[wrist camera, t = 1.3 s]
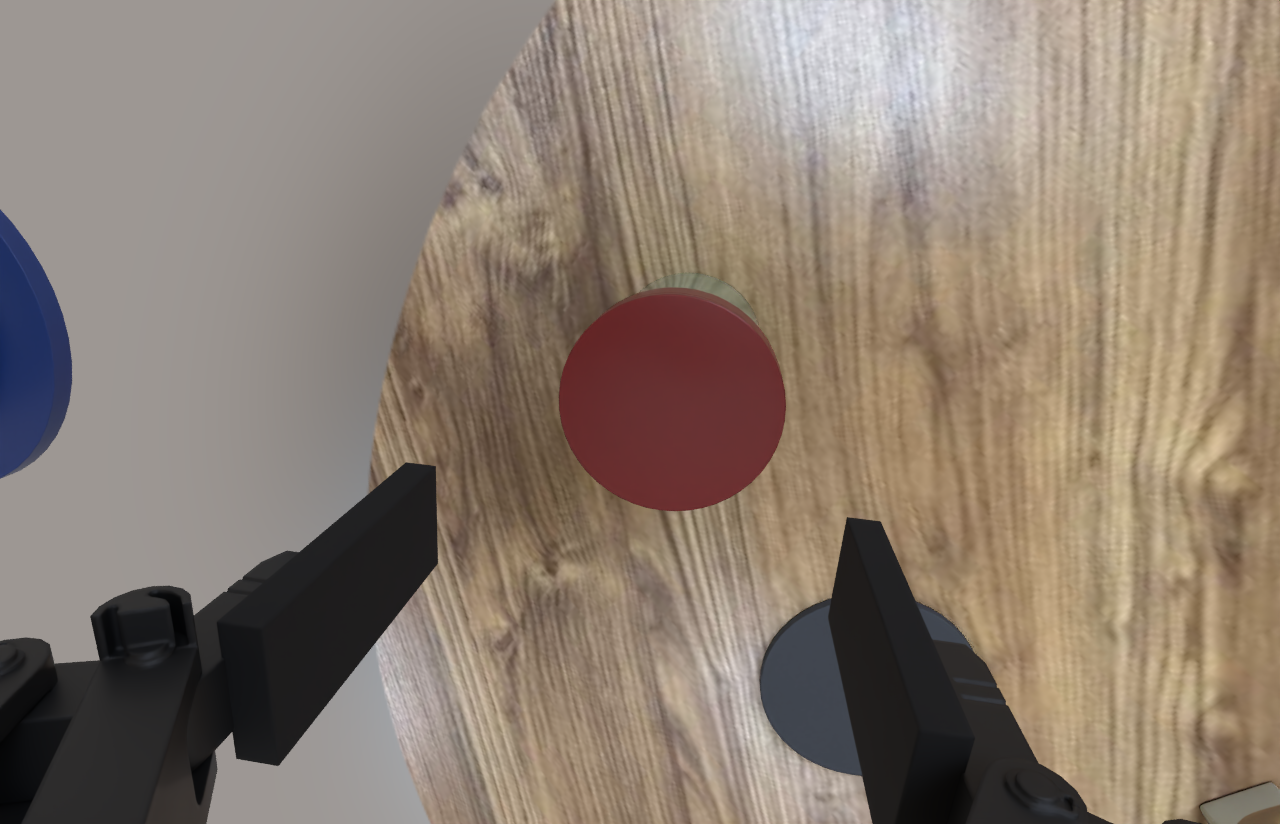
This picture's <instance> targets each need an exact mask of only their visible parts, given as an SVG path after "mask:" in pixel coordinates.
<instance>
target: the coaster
mask: <svg viewBox="0 0 1280 824" xmlns="http://www.w3.org/2000/svg"><path fill="white" fill-rule="evenodd" d="M830 604H831V599H829V600H826V601H824V602H821V603H818V604H816V605H814V606H812V607H810V608H808V609H806V610H804V611H803V612H801V613H800V614H798V615H797V616H795V617H794V618H793V619H791V620H790V621H789V622H788V623H787V624H786V625H785V626H784V627H783V628H782V629H781V630H780V631H779V633H778V634H777V635H776V636H775V637H774V639H773V641H772V642H771V644H770V646H769V647H768V649H767V652H766V654H765V656H764V659H763V663H762V667H761V674H760V690H761V699H762V703H763V707H764V710H765V713H766V715H767V718H768V720H769V722H770V723H771V725H772V727H773V728H774V730H775V731H776V732H777V734H778V735H779V736H780V737H781V739H782V740H783V741H784V742H785V743H786V744H787V745H788V746H789V747H791V748H792V749H793V750H794V751H796V752H797V753H798V754H800V755H801V756H803V757H804V758H806V759H808V760H810V761H811V762H813V763H816V764H818V765H820V766H822V767H825V768H828V769H831V770H834V771H837V772H841V773H846V774H851V775H860V776H862V772H861V768H860V763H859V759H858V754H857V749H856V745H855V740H854V736H853V731H852V726H851V722H850V717H849V713H848V708H847V703H846V699H845V694H844V690H843V685H842V680H841V676H840V671H839V667H838V662H837V657H836V653H835V648H834V644H833V639H832V634H831V630H830V625H829V621H828V614H829V609H830ZM916 604H917V606H918V608H919V610H920V613H921V615H922V617H923V620H924V622H925V624H926V626H927V629H928V631H929V633H930V636H931V638H932V639H933V640H940V641H947V642H954V643H962V644H966V645H967V646H968V647H969V648H970V649H971V650H972V648H971V646H970V644H969V643H968V641H967V640H966V639H965V637H964V636H963V634H962V633H961V632H960V631H959V630H958V629H957V628H956V627H955V626H954V625H953V624H952V623H951V622H950V621H949V620H947V619H946V618H945V617H944V616H942V615H941V614H939V613H937V612H936V611H934V610H932V609H931V608H929V607H927V606H924V605H922V604H920V603H918V602H916ZM972 651H973V650H972Z"/></svg>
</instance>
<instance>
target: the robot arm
mask: <svg viewBox="0 0 1280 824" xmlns="http://www.w3.org/2000/svg"><path fill="white" fill-rule="evenodd" d="M437 564H438V547H437V504H436V466H430V465H422V464H414V463H405V464H404V465H403V466H401V467H400V468H399V469H398V470H397V471H395V472H394V473H393V474H392V475H391V476H389V477H388V478H387V479H386V480H385V481H384V482H382V483H381V484H380V485H379V486H378V487H376V488H375V489H374V490H373V491H372V492H370V493H369V494H368V495H367V496H366V497H365V498H363V499H362V500H361V501H360V502H359V503H357V504H356V505H355V506H354V507H353V508H351V509H350V510H349V511H348V512H347V513H346V514H344V515H343V516H342V517H341V518H339V519H338V520H337V521H336V522H335V523H334V524H332V525H331V526H330V527H329V528H328V529H326V530H325V531H324V532H323V533H322V534H320V535H319V536H318V537H317V538H316V539H315V540H313V541H312V542H311V543H310V544H309V545H307V546H306V547H305V548H304V549H303V550H301V551H300V552H292V551H285V552H283V553H281V554H278V555H276V556H274V557H272V558H270V559H267V560H265V561H263V562H261V563H260V564H259V565H257V566H256V567H255V568H253V569H252V570H251V571H250V572H248V573H247V574H246V575H245V576H244V577H243V579H242V580H238V581H237V582H236V583H234V584H233V585H232V586H231V587H229V588H228V591H227V592H223V593H222V594H221V595H219V596H218V597H217V598H216V599H214V600H213V601H212V602H211V603H209V604H208V605H207V606H206V607H205V608H203V609H202V610H200V611H199V612H198V613H197V614H195V615H193V608H192V602H191V596H190V594H189V593H188V592H187V591H185V590H184V589H182V588H177V587H173V586H152V587H147V588H142V589H137V590H133V591H130V592H128V593H125V594H122V595H120V596H117V597H115V598H113V599H111V600H109V601H108V602H106V603H104V604H103V605H101V606H99V607H98V609H97V610H96V611H95V612H94V613H93V614H92V615H91V622H92V626H93V631H94V636H95V640H96V644H97V650H98V654H99V658H100V661H86V662H72V663H58V664H54V660H53V656H52V652H51V648H50V644H48V643H46V642H45V641H43V640H41V639H34V638H19V639H10V640H3V641H0V824H206V822H207V817H208V813H209V808H210V803H211V797H212V793H213V788H214V783H215V779H216V774H217V762H216V755H215V750H216V748H217V747H218V746H219V745H220V744H221V743H222V742H223V741H224V740H225V739H226V738H227V737H228V736H229V734H230V733H231V732H233V738H234V746H235V753H236V758H237V759H241V760H247V761H253V762H258V763H265V764H270V765H276V766H278V765H280V763H281V762H282V761H283V760H284V758H285V757H286V756H287V754H288V753H289V752H290V751H291V749H292V748H293V747H294V746H295V744H296V743H297V742H298V740H299V739H300V738H301V737H302V735H303V734H304V733H305V732H306V730H307V729H308V728H309V727H310V725H311V724H312V723H313V721H314V720H315V719H316V718H317V716H318V715H319V714H320V712H321V711H322V710H323V709H324V707H325V706H326V705H327V704H328V702H329V701H330V700H331V699H332V697H333V696H334V695H335V693H336V692H337V691H338V689H339V688H340V687H341V686H342V685H343V683H344V682H345V681H346V680H347V678H348V677H349V676H350V674H351V673H352V672H353V671H354V669H355V668H356V667H357V665H358V664H359V663H360V661H361V660H362V659H363V658H364V657H365V655H366V654H367V653H368V652H369V650H370V649H371V647H372V646H373V645H374V644H375V643H376V641H377V640H378V639H379V638H380V636H381V635H382V634H383V633H384V631H385V630H386V629H387V627H388V626H389V625H390V624H391V622H392V621H393V620H394V619H395V617H396V616H397V615H398V613H399V612H400V611H401V610H402V608H403V607H404V606H405V605H406V603H407V602H408V601H409V599H410V598H411V597H412V596H413V594H414V593H415V592H416V591H417V589H418V588H419V587H420V585H421V584H422V583H423V582H424V580H425V579H426V578H427V577H428V575H429V574H430V573H431V572H432V570H433V569H434V568H435V566H436V565H437ZM828 621H829V625H830V630H831V634H832V639H833V644H834V648H835V653H836V657H837V662H838V667H839V671H840V676H841V680H842V685H843V690H844V694H845V699H846V703H847V708H848V713H849V717H850V722H851V726H852V731H853V736H854V740H855V745H856V749H857V754H858V759H859V763H860V768H861V772H862V777H863V782H864V786H865V791H866V795H867V800H868V805H869V809H870V814H871V819H872V823H873V824H1113V823H1111V822H1108V821H1106V820H1104V819H1101V818H1099V817H1097V816H1095V815H1093V814H1091V813H1089V812H1087V807H1086V805H1085V803H1084V802H1083V800H1082V799H1081V797H1080V795H1079V794H1078V792H1077V791H1076V790H1075V789H1074V788H1073V787H1072V786H1071V785H1070V784H1069V783H1068V782H1066V781H1065V780H1064V779H1063V778H1062V777H1061V776H1059V775H1058V774H1056V773H1054V772H1053V771H1051V770H1049V769H1048V768H1046V767H1044V766H1043V765H1041V764H1039V763H1038V761H1037V760H1036V758H1035V756H1034V754H1033V752H1032V750H1031V748H1030V746H1029V744H1028V743H1027V741H1026V739H1025V737H1024V735H1023V733H1022V731H1021V729H1020V727H1019V725H1018V724H1017V722H1016V720H1015V718H1014V716H1013V714H1012V712H1011V710H1010V708H1009V707H1008V706H1007V705H1006V701H1005V699H1004V697H1003V695H1002V693H1001V691H1000V689H999V688H997V684H996V682H995V680H994V678H993V676H992V674H991V672H990V671H989V669H988V667H987V665H986V663H985V662H984V661H983V660H982V659H980V658H979V657H978V656H977V655H976V654H975V653H974V652H973V651H972V650H971V649H970V648H969V647H968V646H967V645H966V644H962V643H954V642H947V641H940V640H933V639H932V638H931V636H930V633H929V631H928V629H927V626H926V624H925V622H924V620H923V617H922V615H921V613H920V610H919V608H918V606H917V604H916V601H915V599H914V597H913V594H912V592H911V590H910V588H909V585H908V583H907V581H906V578H905V576H904V574H903V572H902V569H901V567H900V565H899V562H898V560H897V558H896V556H895V553H894V551H893V549H892V546H891V544H890V542H889V540H888V537H887V535H886V533H885V530H884V528H883V526H882V524H881V522H880V521H872V520H864V519H856V518H848V517H847V520H846V525H845V530H844V536H843V541H842V546H841V551H840V557H839V562H838V567H837V572H836V578H835V583H834V588H833V593H832V599H831V604H830V609H829V614H828ZM1162 824H1201V823H1197V822H1192V821H1188V820H1183V819H1176V820H1168V821H1164V822H1163V823H1162Z"/></svg>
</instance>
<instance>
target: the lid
mask: <svg viewBox="0 0 1280 824" xmlns="http://www.w3.org/2000/svg"><path fill="white" fill-rule="evenodd" d="M559 411H560V417H561V423H562V426H563V430H564V433H565V436H566V439H567V441H568V443H569V445H570V448H571V450H572V451H573V453H574V455H575V456H576V458H577V460H578V461H579V462H580V464H581V465H582V466H583V467H584V469H585V470H586V471H587V472H588V473H589V474H590V475H591V476H592V477H593V478H594V479H595V480H596V481H597V482H598V483H599V484H600V485H602V486H603V487H604V488H606V489H607V490H608V491H610V492H612V493H613V494H615V495H617V496H618V497H620V498H622V499H624V500H627V501H629V502H631V503H633V504H637V505H640V506H643V507H646V508H651V509H657V510H665V511H686V510H694V509H699V508H704V507H707V506H711V505H714V504H717V503H719V502H721V501H723V500H726V499H728V498H730V497H731V496H733V495H735V494H736V493H738V492H740V491H741V490H742V489H744V488H745V487H746V486H747V485H749V484H750V483H751V482H752V481H753V480H754V479H755V478H756V477H757V476H758V475H759V474H760V473H761V472H762V471H763V469H764V468H765V467H766V465H767V464H768V462H769V461H770V459H771V458H772V456H773V454H774V452H775V450H776V448H777V446H778V443H779V440H780V438H781V435H782V431H783V426H784V422H785V411H786V400H785V389H784V384H783V380H782V375H781V371H780V367H779V364H778V361H777V358H776V355H775V353H774V351H773V349H772V347H771V345H770V343H769V341H768V339H767V338H766V336H765V335H764V333H763V332H762V331H761V329H760V328H759V327H758V326H757V325H756V323H755V322H754V321H753V320H752V319H751V318H750V317H749V316H748V315H746V314H745V313H744V312H743V311H741V310H740V309H739V308H738V307H736V306H734V305H733V304H731V303H730V302H728V301H726V300H724V299H722V298H720V297H718V296H715V295H713V294H710V293H707V292H703V291H700V290H695V289H689V288H678V287H667V288H657V289H652V290H648V291H643V292H640V293H637V294H635V295H632V296H630V297H627V298H625V299H624V300H622V301H620V302H618V303H616V304H615V305H613V306H612V307H611V308H609V309H608V310H607V311H605V312H604V313H603V314H602V315H601V316H600V317H599V318H598V319H597V320H596V321H595V322H594V323H593V324H591V325H590V326H589V327H588V328H587V329H586V330H585V332H584V333H583V334H582V335H581V337H580V338H579V339H578V341H577V342H576V343H575V345H574V347H573V349H572V350H571V352H570V354H569V356H568V359H567V361H566V364H565V366H564V369H563V373H562V377H561V381H560V390H559Z"/></svg>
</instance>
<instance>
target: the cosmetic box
mask: <svg viewBox="0 0 1280 824" xmlns="http://www.w3.org/2000/svg"><path fill="white" fill-rule="evenodd" d="M1200 809H1201V811H1202V813H1203V815H1204V817H1205V819H1206V820H1207V822H1208V824H1280V790H1279V789H1278V788H1277V786H1276V785H1275V784H1274V783H1272V782H1269V783H1266V784H1263V785H1260V786H1257V787H1254V788H1250V789H1247V790H1244V791H1241V792H1238V793H1235V794H1232V795H1229V796H1226V797H1223V798H1220V799H1217V800H1215V801H1211V802H1209V803H1205V804H1203V805H1201V806H1200Z"/></svg>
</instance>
